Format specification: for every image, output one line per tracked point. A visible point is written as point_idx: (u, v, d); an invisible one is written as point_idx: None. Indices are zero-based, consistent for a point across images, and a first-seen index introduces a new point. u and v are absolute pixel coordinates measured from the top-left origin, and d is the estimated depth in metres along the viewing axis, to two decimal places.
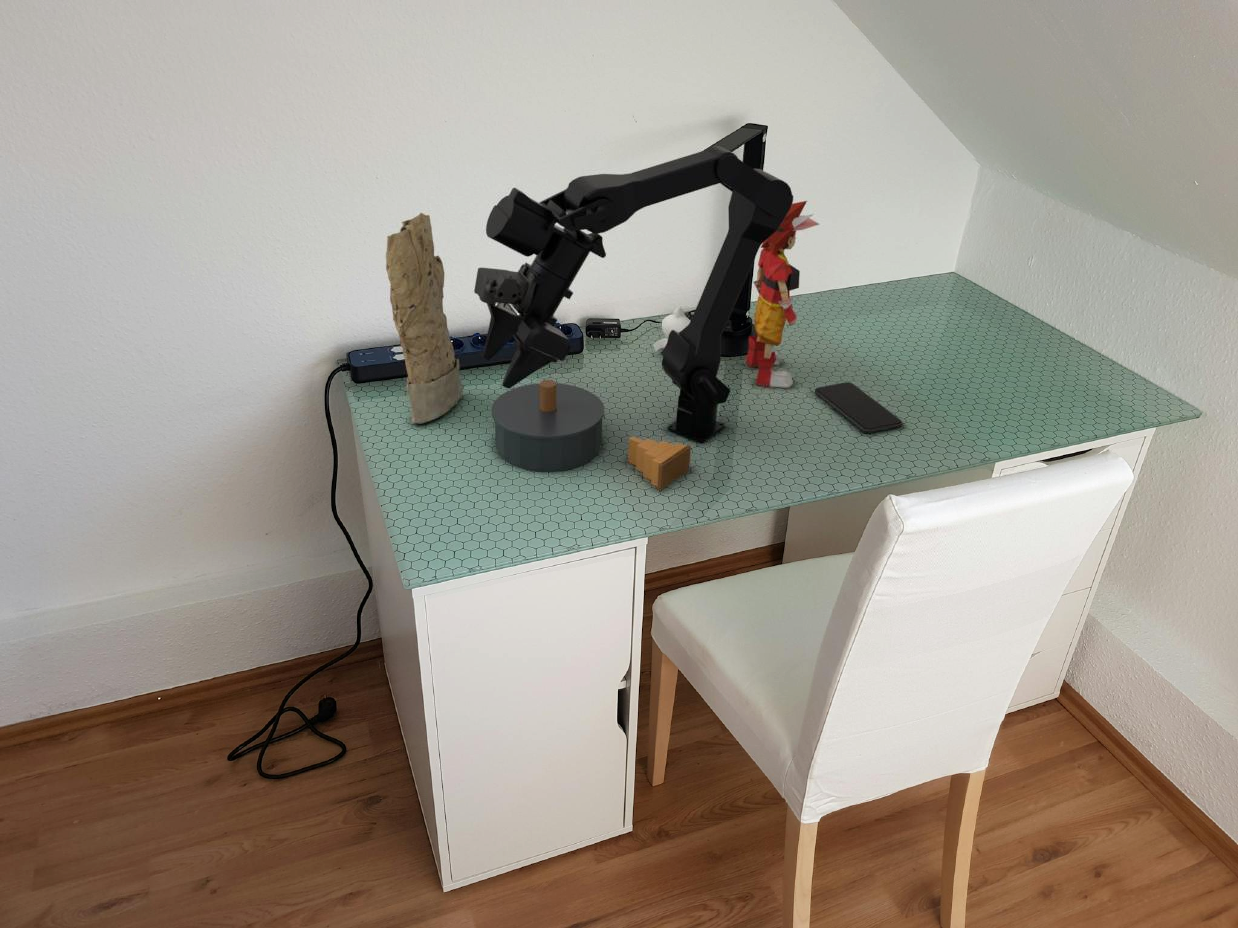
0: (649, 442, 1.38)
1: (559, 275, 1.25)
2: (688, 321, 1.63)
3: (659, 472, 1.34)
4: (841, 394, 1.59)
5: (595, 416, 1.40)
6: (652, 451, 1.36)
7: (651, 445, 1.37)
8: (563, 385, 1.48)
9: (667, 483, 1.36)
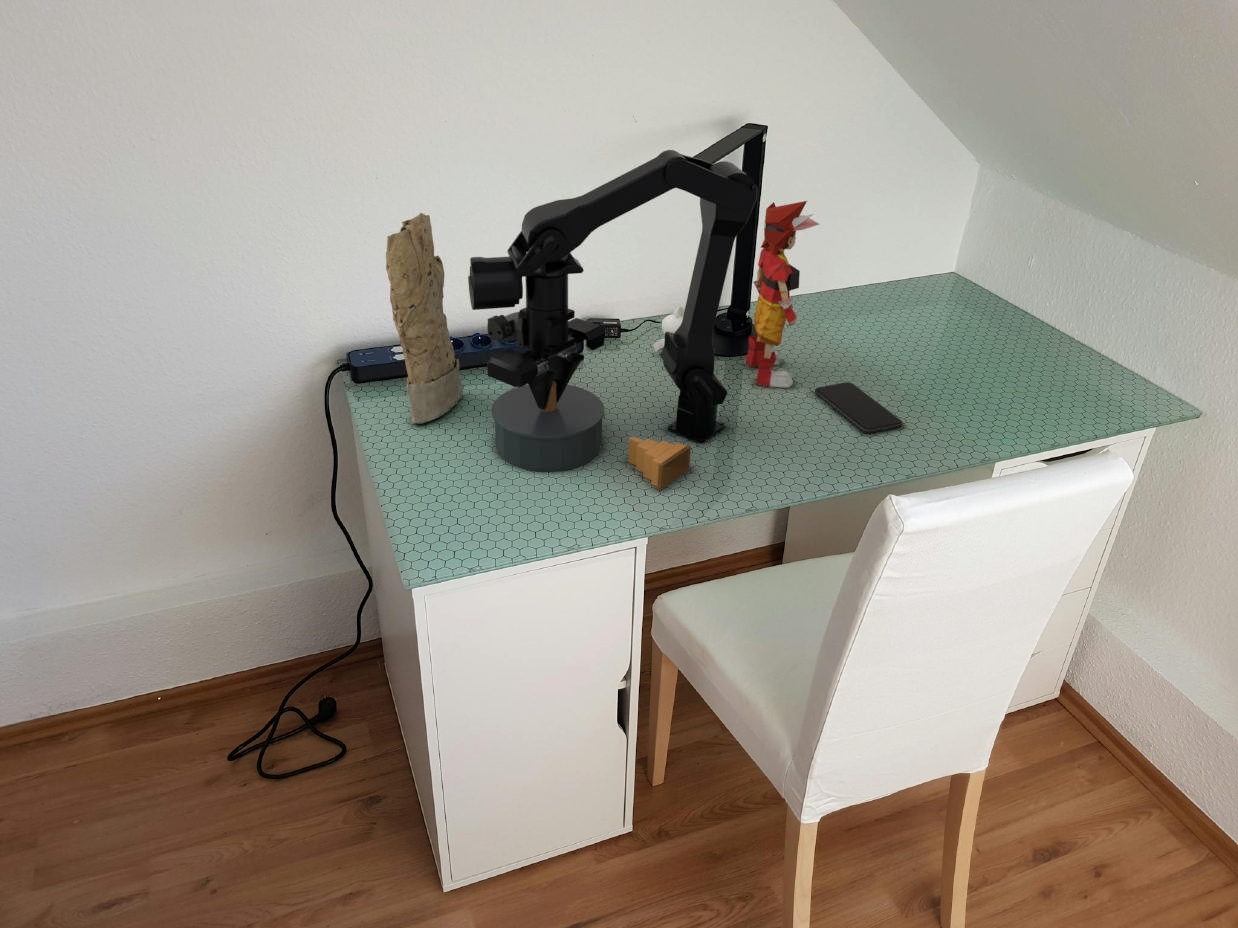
0: (649, 442, 1.38)
1: (548, 309, 1.31)
2: None
3: (659, 472, 1.34)
4: (841, 394, 1.59)
5: (595, 416, 1.40)
6: (652, 451, 1.36)
7: (651, 445, 1.37)
8: None
9: (667, 483, 1.36)
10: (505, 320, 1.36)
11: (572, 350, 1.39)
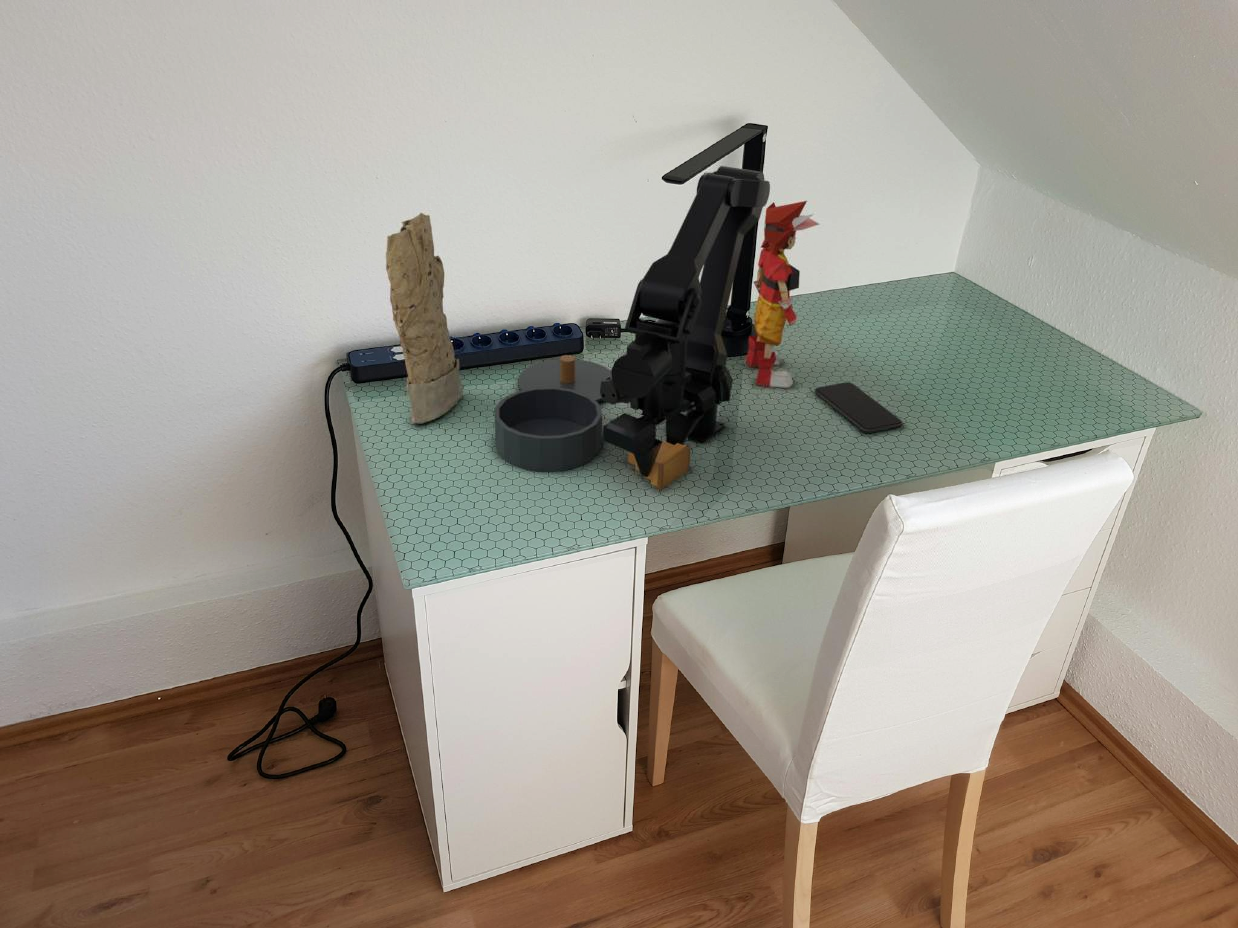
0: None
1: (682, 370, 1.29)
2: None
3: (659, 472, 1.34)
4: (841, 394, 1.59)
5: None
6: None
7: None
8: (580, 361, 1.66)
9: (667, 483, 1.36)
10: None
11: (691, 407, 1.37)
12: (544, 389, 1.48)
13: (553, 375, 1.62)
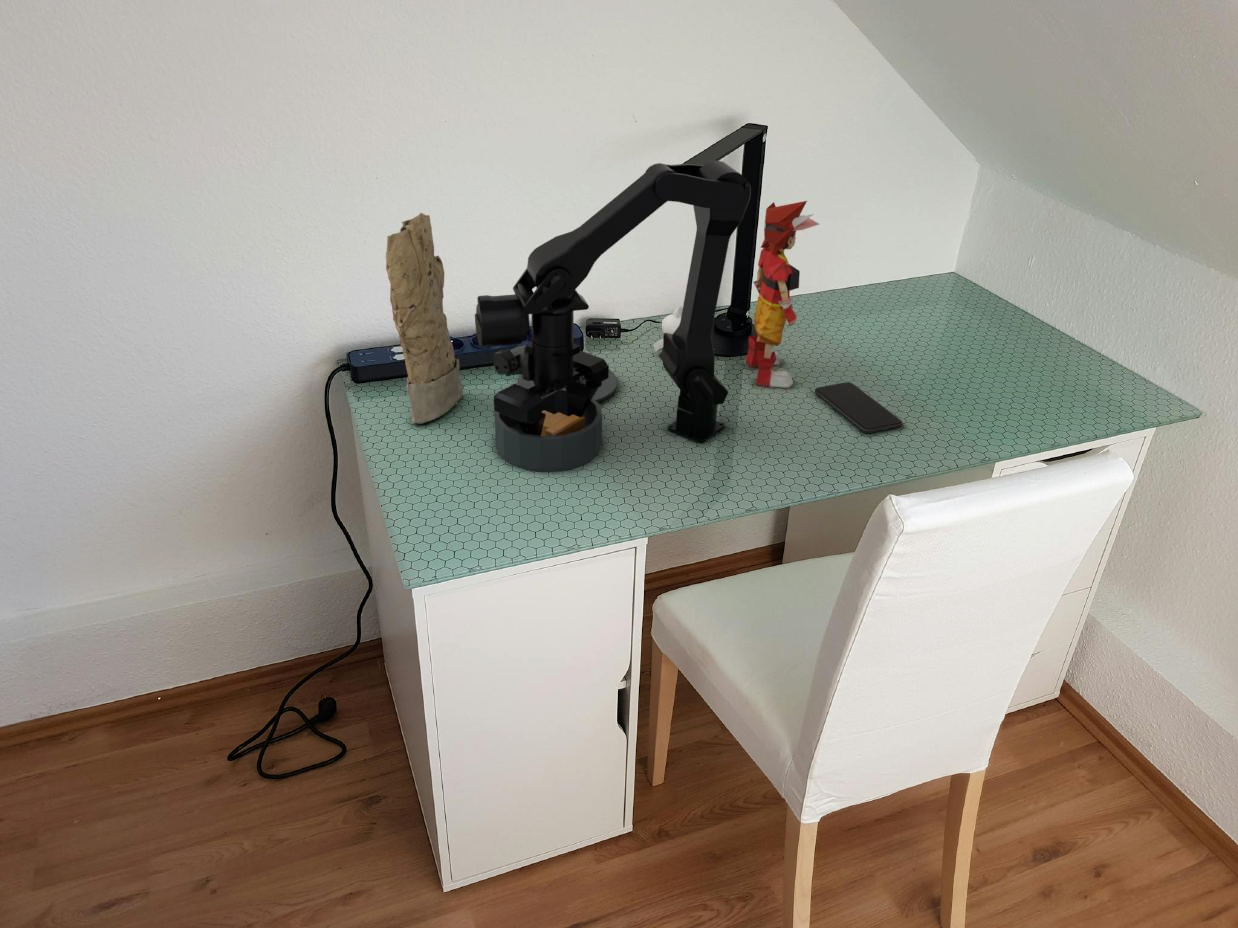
0: (545, 413, 1.43)
1: (554, 346, 1.33)
2: None
3: None
4: (841, 394, 1.59)
5: (609, 387, 1.59)
6: (546, 422, 1.41)
7: (546, 416, 1.43)
8: None
9: None
10: (511, 355, 1.38)
11: (590, 376, 1.44)
12: None
13: None
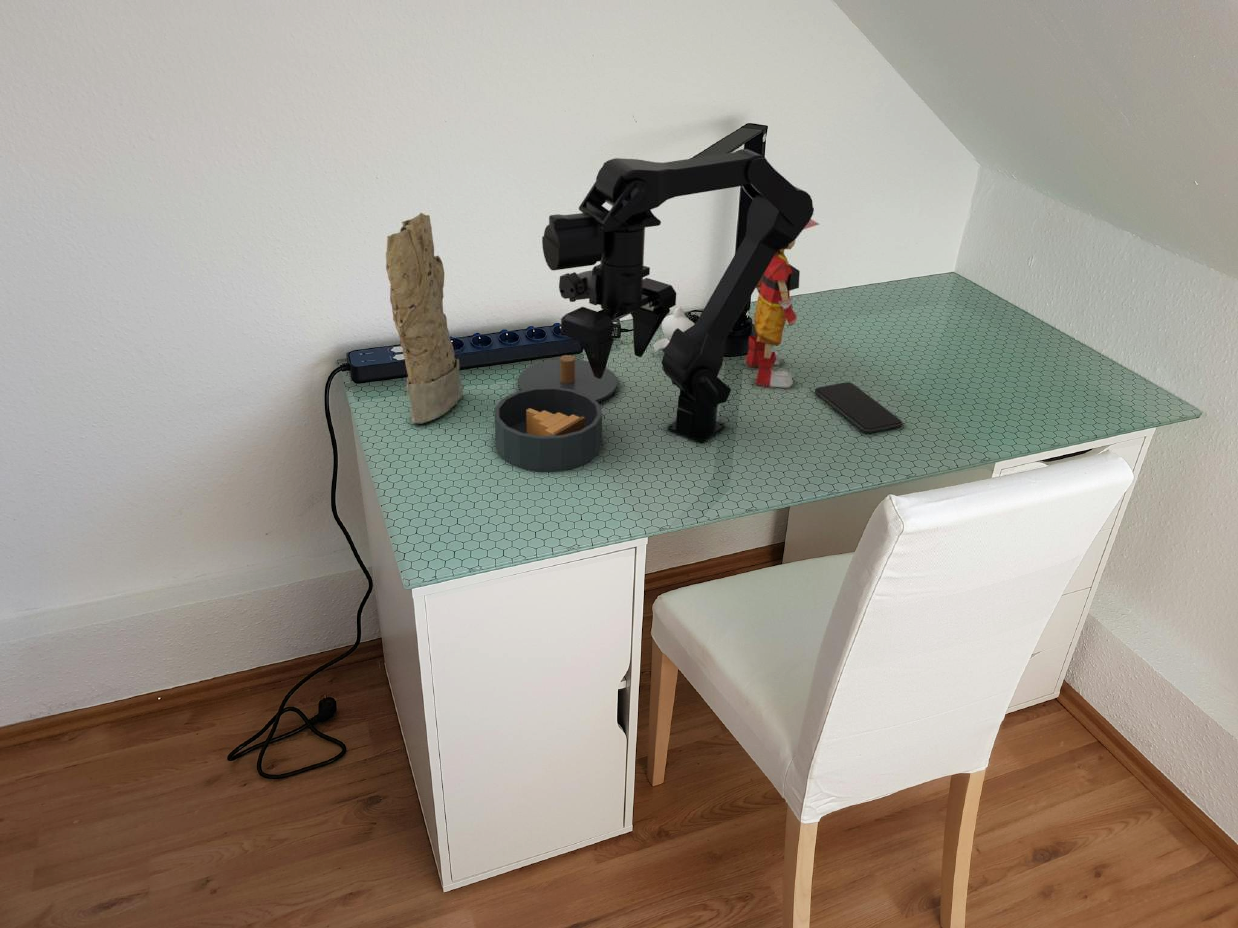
0: (545, 413, 1.43)
1: (628, 265, 1.27)
2: (688, 321, 1.63)
3: None
4: (841, 394, 1.59)
5: (609, 387, 1.59)
6: (546, 422, 1.41)
7: (546, 416, 1.43)
8: (580, 361, 1.66)
9: None
10: (577, 278, 1.32)
11: (658, 303, 1.38)
12: (544, 389, 1.48)
13: (553, 375, 1.62)
